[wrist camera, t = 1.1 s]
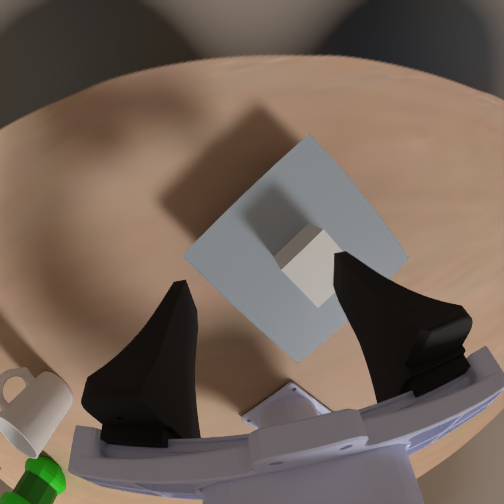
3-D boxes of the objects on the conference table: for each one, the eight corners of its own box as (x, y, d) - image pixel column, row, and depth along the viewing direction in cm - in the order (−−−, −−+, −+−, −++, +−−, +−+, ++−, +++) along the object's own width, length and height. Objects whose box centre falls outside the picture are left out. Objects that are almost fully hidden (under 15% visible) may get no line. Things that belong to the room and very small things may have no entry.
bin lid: (404, 255, 22) (436, 268, 17) (296, 358, 23) (307, 391, 18) (307, 135, 20) (324, 118, 15) (184, 253, 21) (168, 268, 16)
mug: (83, 404, 29) (47, 461, 17) (57, 408, 29) (22, 456, 17) (43, 344, 27) (-10, 390, 15) (20, 353, 27) (-27, 393, 16)
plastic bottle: (26, 449, 32) (-18, 516, 7) (45, 447, 31) (-3, 528, 7) (57, 478, 34) (23, 547, 9) (80, 479, 33) (44, 560, 9)
